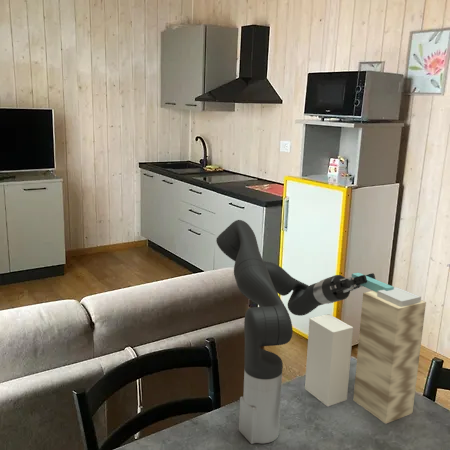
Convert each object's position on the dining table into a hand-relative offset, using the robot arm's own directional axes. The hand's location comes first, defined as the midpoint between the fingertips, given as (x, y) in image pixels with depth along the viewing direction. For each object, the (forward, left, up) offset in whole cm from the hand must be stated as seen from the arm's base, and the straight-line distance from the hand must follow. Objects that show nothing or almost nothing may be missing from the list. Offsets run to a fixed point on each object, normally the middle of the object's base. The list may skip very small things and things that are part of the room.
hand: (369, 277), depth 137 cm
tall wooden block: (0, -9, -35) cm, 36 cm away
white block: (-10, +3, -35) cm, 36 cm away
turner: (0, -4, -3) cm, 5 cm away
